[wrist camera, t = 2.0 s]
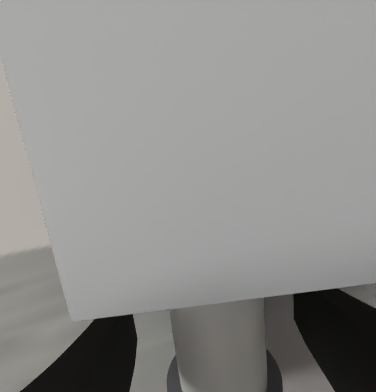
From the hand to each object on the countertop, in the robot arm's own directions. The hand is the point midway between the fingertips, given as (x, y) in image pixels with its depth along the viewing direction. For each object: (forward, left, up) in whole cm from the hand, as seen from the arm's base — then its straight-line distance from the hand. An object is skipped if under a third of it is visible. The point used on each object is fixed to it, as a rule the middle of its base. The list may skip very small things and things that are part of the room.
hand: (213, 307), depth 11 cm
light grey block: (0, -8, -2) cm, 8 cm away
